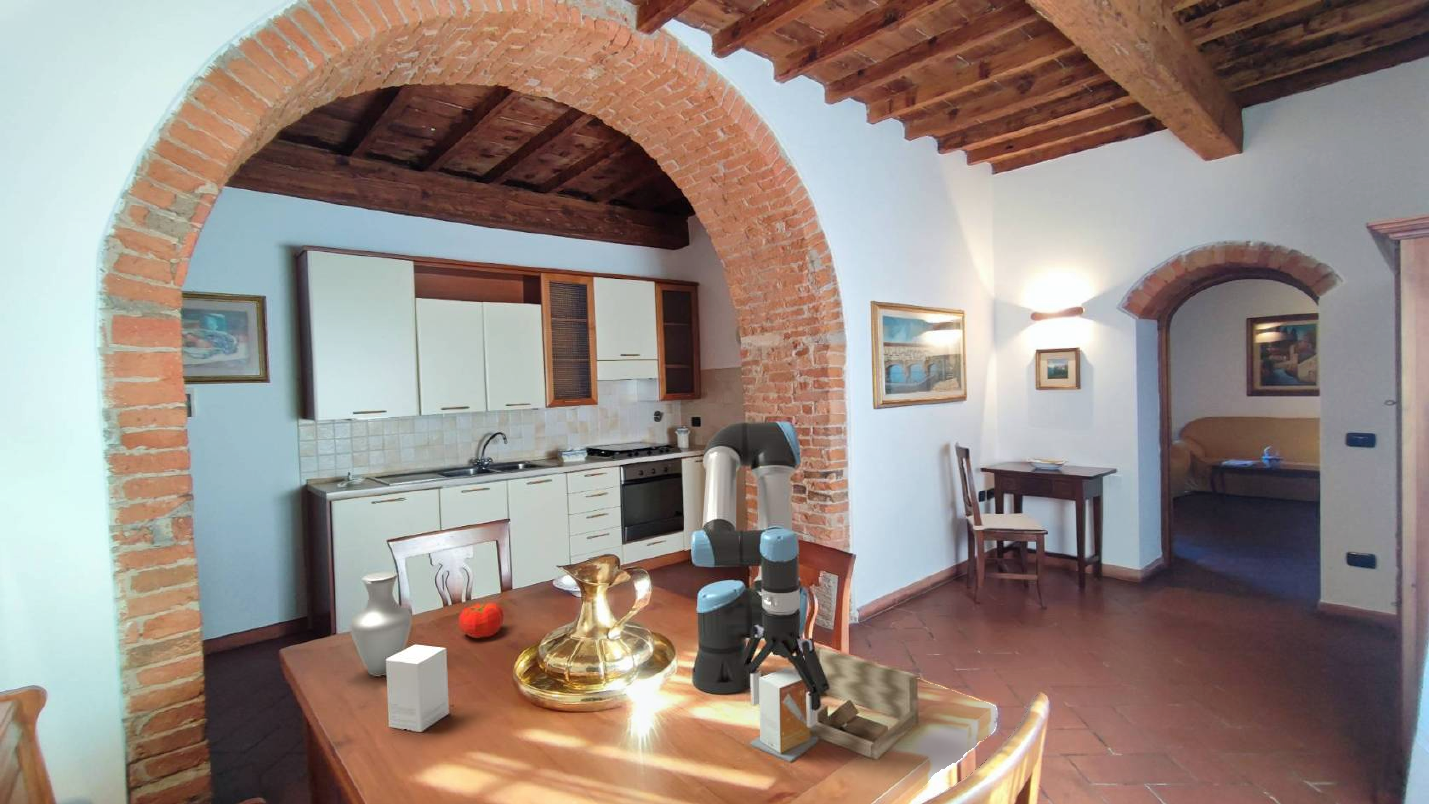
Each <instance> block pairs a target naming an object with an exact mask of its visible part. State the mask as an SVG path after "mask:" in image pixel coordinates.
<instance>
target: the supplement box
mask: <svg viewBox="0 0 1429 804" xmlns="http://www.w3.org/2000/svg"><path fill="white" fill-rule="evenodd" d="M447 660H448V659H447V648H446V647H437V646H429V645H420V644H413V645H412V646H410V647H407V648H405V650H404V651H402V652H400V653H397V654H395V655H393V656H391V657H389V658H388V659H386V671H387V675H386V688H387V690H386V691H387V706H388V707H387V709H388V710H387V711H388V727H389V728H393V729H398V730H399V729H400V730H404V729H407V731H410V730H411V731H412V732H418V733H422V732H424V731H425V730H426V729H428V728H429V727H430V726H432V725H434V724H435V723H437V722H438V721H439V720H441V719H443V718H444V717H446V716H447V715H449V713H450V709H449V708H450V707H449V687H448V686H449V685H448V663H447V662H448V661H447ZM411 731H410V732H411Z"/></svg>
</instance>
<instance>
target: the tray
mask: <svg viewBox="0 0 1429 804" xmlns="http://www.w3.org/2000/svg"><path fill="white" fill-rule="evenodd" d="M815 652H816V654H817V657H818V659H819V661H820V664H821V666H822V669H823V671H824V674H825V676H826V679H827V681H828V684H829V687H830V688H829V689H828V690H827V691H825V692H824V693H823V694H824V695H827V696H829V697H833V698H835V699H838V700H842V701H844V702H847V701H848V700H851V702H852V703H853V704H854V705H857V706H860V707H863V708H866V709H868V710H872V711H875V712H878V713H881V714H884V715H886V716H890V717H893V718H895V719H899V720H898V721H897V722H896V723H894V725H892V726H890V728H888V731H886V732H885V733H884V734H883V735H882V736H881V737H880V738H878V739H877V740H876V741H875V742H874V743H873V742H871V741H868V740H865V739H862V738H860V737H857V736H854V735H851V734H849V733H847V731H842V729H839V730H838V729H835V728H832V727H830V726H827V725H825V724H821V723H819V722H817V723H816V724H815V725H813V726H812V727H811V728H809V730H810V735H811V736H814V737H816V738H819V739H821V740H824V741H826V742H830V743H832V744H834V745H837V746H839V747H843V748H845V749H847V750H850V751H852V752H855V753H857V754H861V755H863V756H866V757H868V758H871V759H873V760H876V761H877V760H878V759H880V757H882V756H883V755H884V754H885V753H886V752H887V751H888V750H890V748H891V747H892V746H893V745H895V744H896V743H895V742H896V741H897V742H898V741H899V740H900V739H901V738H902V737H903V736H904V735H905V734H906V733H908V732H909V731H910V730H911V729H912V728H913V727H914V726H915V725H917V723H919V709H918V707H919V706H918V705H919V703H918V702H919V701H918V700H919V699H918V695H919V694H918V674H916V673H913V672H908V671H905V670H902V669H898V668H894V667H890V666H887V665H884V664H880V663H876V662H874V661H873V662H872V661H870V660H867V659H862V658H858V657H854V656H852V655H849V654H845V653H841V652H837V651H833V650H830V649H827V648H823V647H819V646H817V647H815ZM909 729H910V730H909ZM908 730H909V731H908ZM902 735H903V736H902ZM901 736H902V737H901ZM900 737H901V738H900ZM884 752H885V753H884ZM883 753H884V754H883ZM882 754H883V755H882Z"/></svg>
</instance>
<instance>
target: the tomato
mask: <svg viewBox="0 0 1429 804" xmlns="http://www.w3.org/2000/svg"><path fill="white" fill-rule="evenodd" d="M503 622H504V611H503V609H502V607H501V606H500V605H498V604H497V603H494V602H487V603H485V602H484V603H477V604H473V605H472V606H470V607H467V608H464V609H463V610H462V611H461V612H460V614H459V617H458V625H459V629H460V631H461V632H462V633H463V634H466V635H468V636H469V637H472V638H474V639H480V638H490V637H492V636H494V635H495V634H496V633H498V632H499V631H500V628H501V626H502V625H503ZM489 636H490V637H489Z"/></svg>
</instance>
